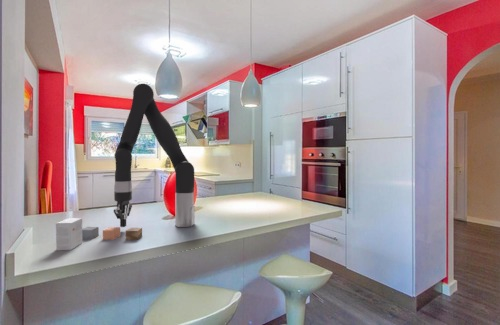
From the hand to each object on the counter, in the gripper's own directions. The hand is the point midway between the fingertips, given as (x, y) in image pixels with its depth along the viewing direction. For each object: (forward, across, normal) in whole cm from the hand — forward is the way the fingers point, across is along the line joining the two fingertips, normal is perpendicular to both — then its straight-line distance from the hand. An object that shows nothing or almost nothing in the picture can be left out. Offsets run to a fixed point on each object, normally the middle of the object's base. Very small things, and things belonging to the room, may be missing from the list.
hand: (123, 226), depth 124 cm
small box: (+2, -22, +10) cm, 24 cm away
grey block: (+2, -10, +10) cm, 14 cm away
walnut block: (+2, -10, -10) cm, 14 cm away
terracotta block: (+2, -10, 0) cm, 10 cm away
